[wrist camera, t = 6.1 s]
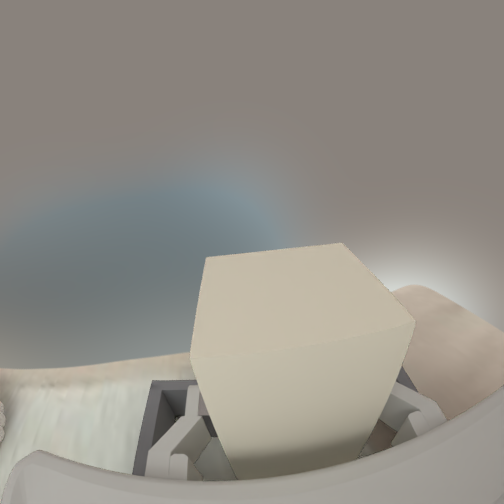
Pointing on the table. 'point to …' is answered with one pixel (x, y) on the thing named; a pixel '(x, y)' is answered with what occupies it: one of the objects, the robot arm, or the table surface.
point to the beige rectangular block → (295, 356)
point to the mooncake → (2, 421)
